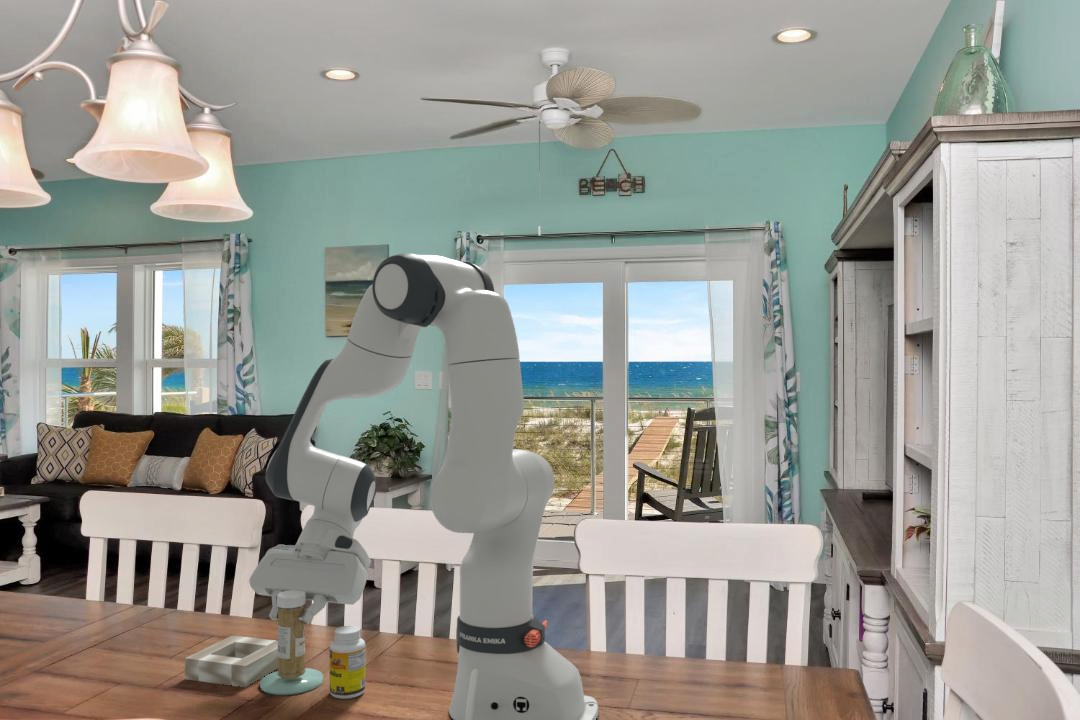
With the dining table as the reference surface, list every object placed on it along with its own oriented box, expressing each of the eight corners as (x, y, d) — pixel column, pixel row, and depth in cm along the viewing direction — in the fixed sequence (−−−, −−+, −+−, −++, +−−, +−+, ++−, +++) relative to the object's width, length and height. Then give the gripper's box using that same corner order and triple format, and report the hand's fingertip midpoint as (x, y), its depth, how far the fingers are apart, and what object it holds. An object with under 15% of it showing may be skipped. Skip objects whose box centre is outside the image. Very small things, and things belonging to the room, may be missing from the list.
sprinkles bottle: (309, 675, 136) (309, 594, 136) (281, 681, 134) (281, 598, 134) (300, 666, 140) (301, 587, 140) (273, 672, 138) (273, 591, 138)
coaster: (334, 675, 140) (334, 671, 140) (300, 698, 130) (300, 694, 130) (284, 668, 143) (284, 665, 143) (246, 690, 134) (246, 686, 134)
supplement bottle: (324, 692, 133) (323, 628, 133) (356, 683, 136) (356, 621, 136) (338, 703, 129) (338, 637, 129) (371, 694, 132) (371, 630, 132)
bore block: (289, 661, 146) (289, 642, 146) (245, 687, 135) (245, 666, 135) (232, 654, 150) (232, 635, 150) (185, 679, 138) (184, 658, 138)
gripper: (263, 533, 147) (227, 605, 137) (366, 542, 140) (335, 617, 131) (279, 553, 151) (244, 623, 142) (379, 562, 145) (350, 636, 135)
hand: (289, 620), depth 136 cm, fingers closed on sprinkles bottle, 4 cm apart
